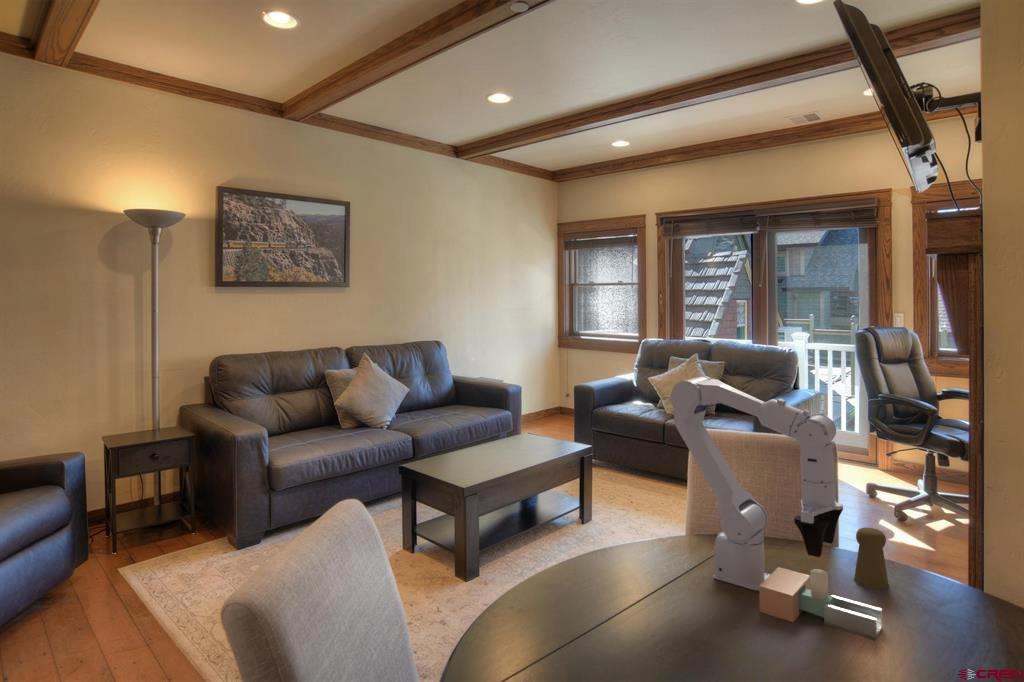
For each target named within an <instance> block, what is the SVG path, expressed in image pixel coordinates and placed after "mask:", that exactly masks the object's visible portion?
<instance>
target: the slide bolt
mask: <svg viewBox="0 0 1024 682" xmlns="http://www.w3.org/2000/svg"><path fill="white" fill-rule="evenodd" d="M810 577H811V590H808V589H805V588H802V589H801V590H800V591H799V609H801V610H803V611H805V612H807V613H811V614H813V615H818V616H821V617H824V605H825V604H829V605H832V606H834V597H833V596H832V595H831V594H830V595H829V574H828V572H827V571H826V570H822V569H819V568H818V569H815V568H814V569H811V570H810Z"/></svg>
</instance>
